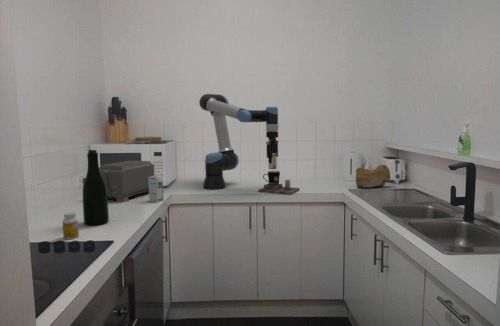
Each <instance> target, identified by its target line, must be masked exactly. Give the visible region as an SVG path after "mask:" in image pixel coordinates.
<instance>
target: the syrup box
mask: <svg viewBox="0 0 500 326" xmlns="http://www.w3.org/2000/svg"><path fill="white" fill-rule="evenodd" d="M148 181H149V193H148V194H149V198H148V199H149V202H151V203H159V202H162V201H164V199H165V198H164V184H163V181H164V180H163V176H162V175H159V174H158V175H155V174H154V176H151V177H148Z"/></svg>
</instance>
